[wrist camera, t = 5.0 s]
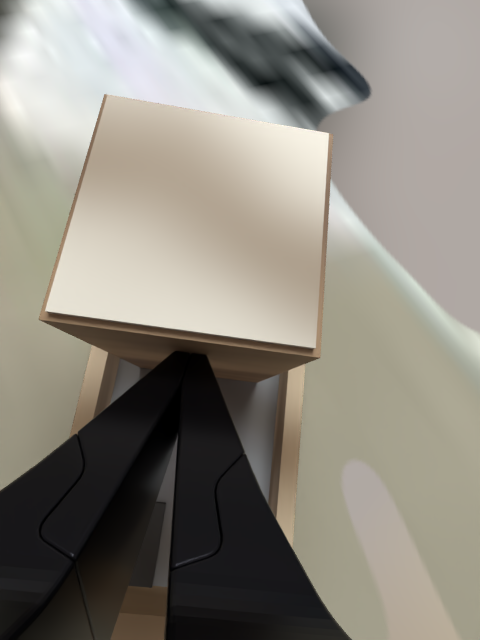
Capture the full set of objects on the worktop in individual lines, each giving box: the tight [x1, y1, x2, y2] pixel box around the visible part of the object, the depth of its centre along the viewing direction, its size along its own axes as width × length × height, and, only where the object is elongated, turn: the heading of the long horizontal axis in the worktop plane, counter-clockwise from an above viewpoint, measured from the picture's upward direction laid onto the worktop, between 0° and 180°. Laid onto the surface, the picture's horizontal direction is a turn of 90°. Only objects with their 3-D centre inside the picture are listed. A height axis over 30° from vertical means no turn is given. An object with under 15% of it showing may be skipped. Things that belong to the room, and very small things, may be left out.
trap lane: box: [69, 345, 305, 640], centre depth 14 cm, size 17×9×3 cm, turn 173°
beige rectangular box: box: [39, 94, 333, 383], centre depth 11 cm, size 6×6×9 cm
